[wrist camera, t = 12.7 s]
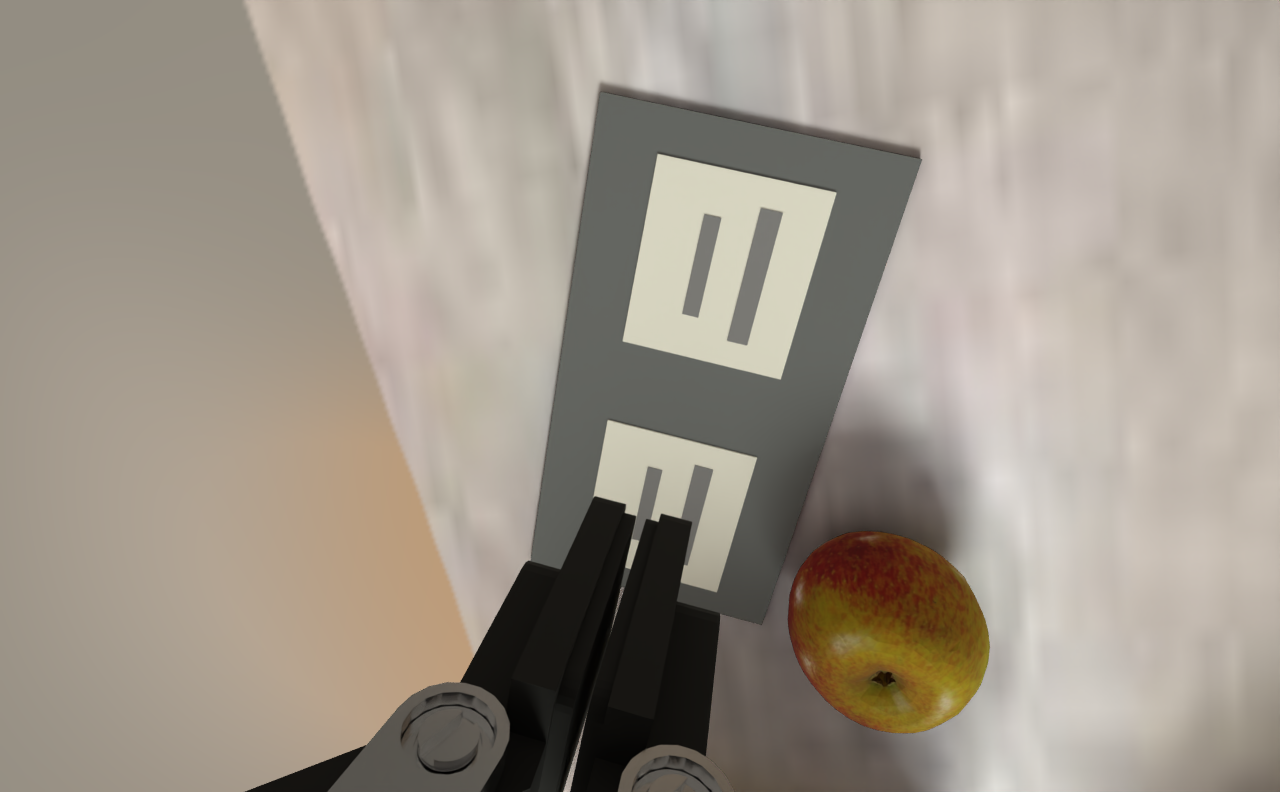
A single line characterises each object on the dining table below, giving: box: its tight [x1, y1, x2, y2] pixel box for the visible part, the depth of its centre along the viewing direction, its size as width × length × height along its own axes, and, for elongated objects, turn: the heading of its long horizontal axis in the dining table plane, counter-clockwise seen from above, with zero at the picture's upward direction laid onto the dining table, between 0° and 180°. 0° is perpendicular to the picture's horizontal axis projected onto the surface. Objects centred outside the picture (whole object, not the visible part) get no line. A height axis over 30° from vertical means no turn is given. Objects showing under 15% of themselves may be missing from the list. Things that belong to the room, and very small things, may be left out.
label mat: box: [531, 92, 922, 625], centre depth 35 cm, size 26×14×1 cm, turn 169°
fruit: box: [788, 531, 990, 733], centre depth 34 cm, size 10×9×8 cm
